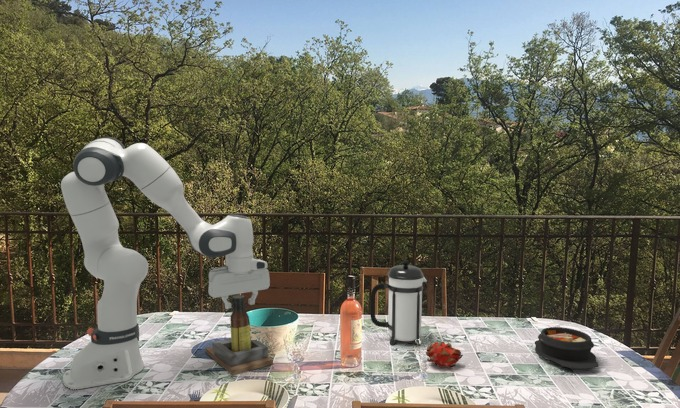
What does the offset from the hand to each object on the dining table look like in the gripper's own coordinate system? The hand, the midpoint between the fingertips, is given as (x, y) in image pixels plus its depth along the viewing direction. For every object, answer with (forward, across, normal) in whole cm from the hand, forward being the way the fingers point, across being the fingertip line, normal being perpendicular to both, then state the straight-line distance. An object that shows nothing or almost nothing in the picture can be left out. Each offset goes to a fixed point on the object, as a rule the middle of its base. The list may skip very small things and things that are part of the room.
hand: (240, 306), depth 159 cm
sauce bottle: (+17, 0, 0) cm, 17 cm away
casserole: (+18, +88, -62) cm, 109 cm away
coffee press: (+18, +55, -18) cm, 61 cm away
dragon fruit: (+18, +51, -42) cm, 69 cm away
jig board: (+18, 0, +2) cm, 18 cm away
